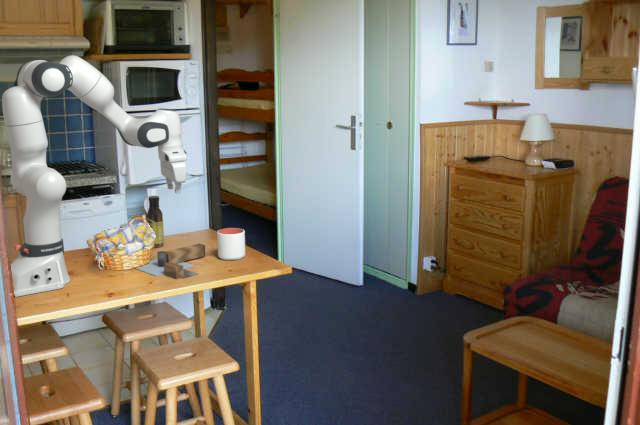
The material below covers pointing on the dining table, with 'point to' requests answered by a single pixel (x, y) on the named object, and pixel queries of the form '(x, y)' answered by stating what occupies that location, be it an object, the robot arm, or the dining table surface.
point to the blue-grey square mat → (159, 268)
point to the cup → (231, 243)
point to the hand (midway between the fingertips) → (174, 191)
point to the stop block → (177, 271)
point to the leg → (181, 254)
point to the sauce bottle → (156, 220)
